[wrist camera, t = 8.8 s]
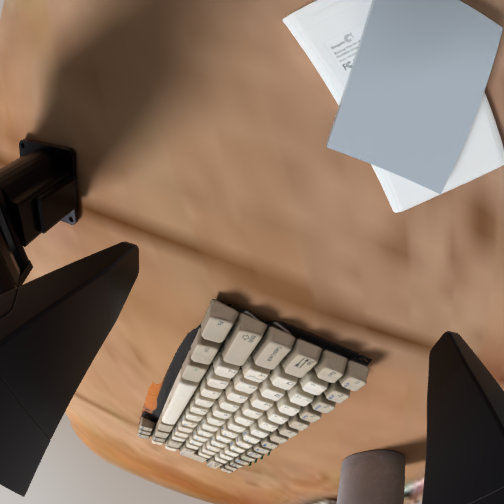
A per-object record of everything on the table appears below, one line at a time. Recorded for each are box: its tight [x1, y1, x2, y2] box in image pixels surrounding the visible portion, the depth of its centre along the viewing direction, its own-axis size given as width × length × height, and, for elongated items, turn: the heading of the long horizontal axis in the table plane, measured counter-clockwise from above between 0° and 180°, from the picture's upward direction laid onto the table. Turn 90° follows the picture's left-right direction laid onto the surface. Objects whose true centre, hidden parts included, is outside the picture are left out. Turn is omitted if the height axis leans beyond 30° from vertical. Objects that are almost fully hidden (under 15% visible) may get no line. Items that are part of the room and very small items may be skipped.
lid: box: [327, 0, 503, 195], centre depth 12 cm, size 7×10×1 cm, turn 166°
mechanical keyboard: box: [138, 299, 372, 473], centre depth 35 cm, size 38×19×3 cm, turn 159°
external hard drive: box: [283, 0, 504, 213], centre depth 14 cm, size 2×8×12 cm
